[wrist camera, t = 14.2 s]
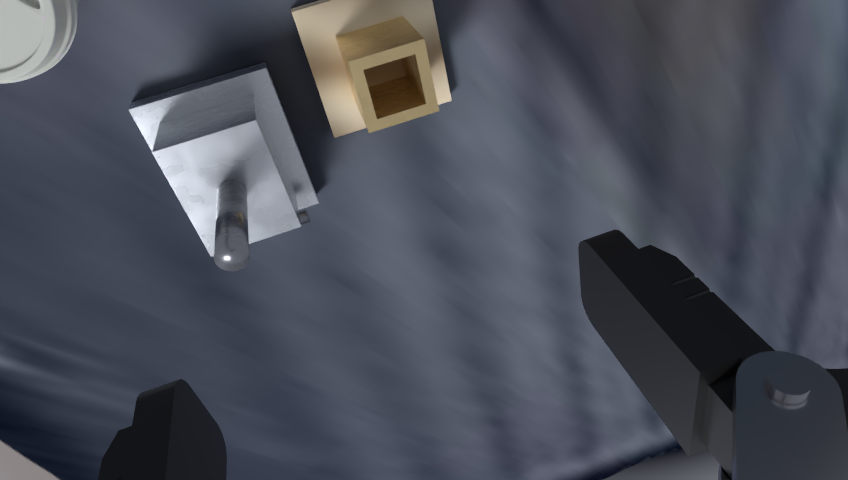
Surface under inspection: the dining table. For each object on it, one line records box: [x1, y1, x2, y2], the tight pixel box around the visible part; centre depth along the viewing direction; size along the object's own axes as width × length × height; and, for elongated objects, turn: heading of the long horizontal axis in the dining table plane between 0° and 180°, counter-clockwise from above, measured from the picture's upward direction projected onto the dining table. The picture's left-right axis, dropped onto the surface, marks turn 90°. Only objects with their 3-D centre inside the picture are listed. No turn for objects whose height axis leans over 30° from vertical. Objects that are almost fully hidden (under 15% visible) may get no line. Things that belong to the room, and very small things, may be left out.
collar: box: [335, 16, 439, 133], centre depth 42 cm, size 5×5×6 cm
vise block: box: [129, 62, 319, 271], centre depth 40 cm, size 12×10×14 cm
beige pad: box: [291, 0, 452, 138], centre depth 44 cm, size 10×10×1 cm
